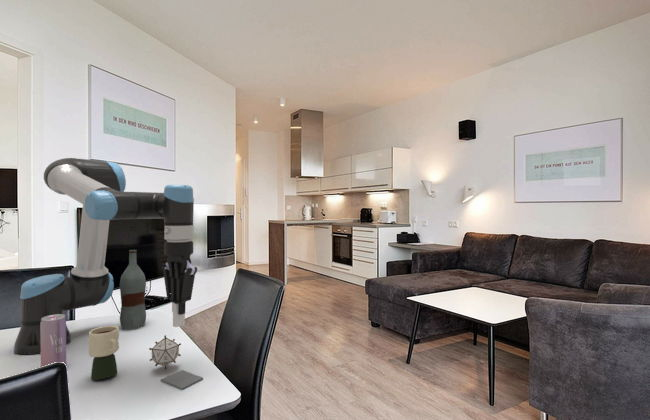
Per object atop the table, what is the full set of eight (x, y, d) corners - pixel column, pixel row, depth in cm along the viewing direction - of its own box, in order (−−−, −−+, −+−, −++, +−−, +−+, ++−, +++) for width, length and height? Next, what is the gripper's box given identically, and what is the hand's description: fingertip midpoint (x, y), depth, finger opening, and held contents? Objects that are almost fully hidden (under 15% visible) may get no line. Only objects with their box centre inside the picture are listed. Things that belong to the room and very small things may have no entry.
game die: (169, 377, 99) (168, 341, 99) (141, 375, 101) (141, 339, 101) (187, 363, 108) (187, 330, 108) (162, 361, 110) (162, 328, 109)
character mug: (128, 376, 100) (128, 329, 100) (102, 387, 94) (101, 337, 94) (106, 367, 106) (106, 323, 106) (79, 377, 99) (79, 330, 99)
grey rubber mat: (160, 381, 97) (160, 379, 97) (182, 372, 103) (182, 369, 103) (181, 390, 92) (181, 388, 92) (203, 380, 98) (203, 377, 98)
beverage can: (62, 362, 109) (62, 312, 109) (69, 367, 106) (68, 316, 105) (38, 369, 105) (37, 317, 105) (44, 375, 101) (43, 321, 101)
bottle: (124, 323, 146) (124, 249, 146) (149, 322, 148) (148, 248, 147) (115, 331, 137) (115, 252, 136) (142, 330, 138) (141, 251, 138)
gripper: (152, 240, 101) (152, 324, 101) (181, 243, 94) (181, 333, 94) (176, 238, 107) (176, 317, 108) (205, 240, 100) (205, 325, 101)
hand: (178, 325), depth 101 cm, fingers closed
